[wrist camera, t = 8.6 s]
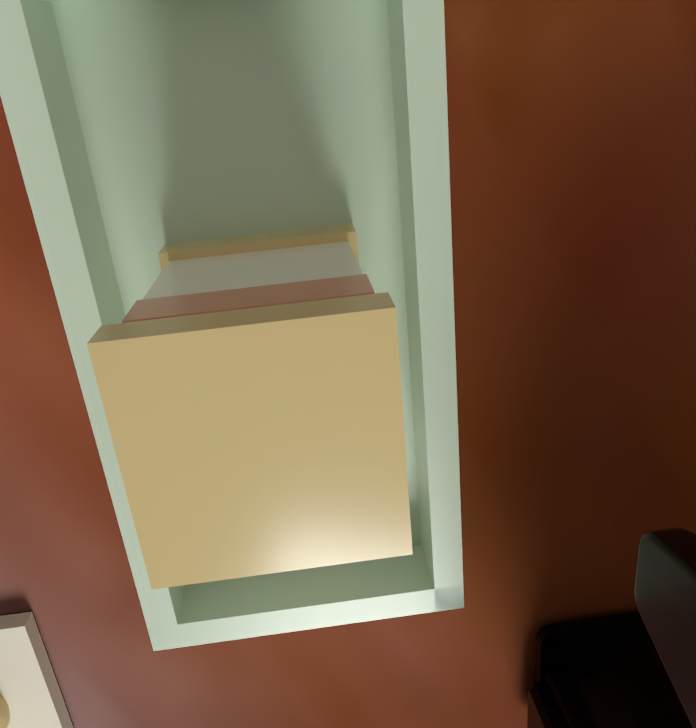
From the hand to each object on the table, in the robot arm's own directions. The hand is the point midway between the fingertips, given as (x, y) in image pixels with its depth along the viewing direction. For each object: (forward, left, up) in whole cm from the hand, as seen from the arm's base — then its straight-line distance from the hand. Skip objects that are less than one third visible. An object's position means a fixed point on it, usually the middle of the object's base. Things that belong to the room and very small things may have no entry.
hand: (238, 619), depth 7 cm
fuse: (0, 0, -10) cm, 10 cm away
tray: (0, 0, -11) cm, 11 cm away
